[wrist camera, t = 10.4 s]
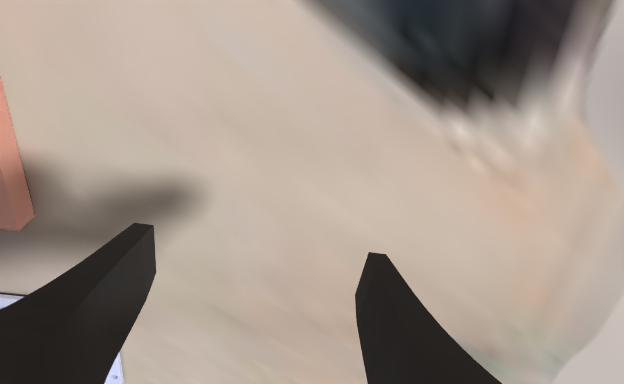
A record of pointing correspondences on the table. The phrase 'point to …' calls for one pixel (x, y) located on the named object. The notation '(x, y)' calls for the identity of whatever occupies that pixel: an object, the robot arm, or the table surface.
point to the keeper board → (12, 176)
